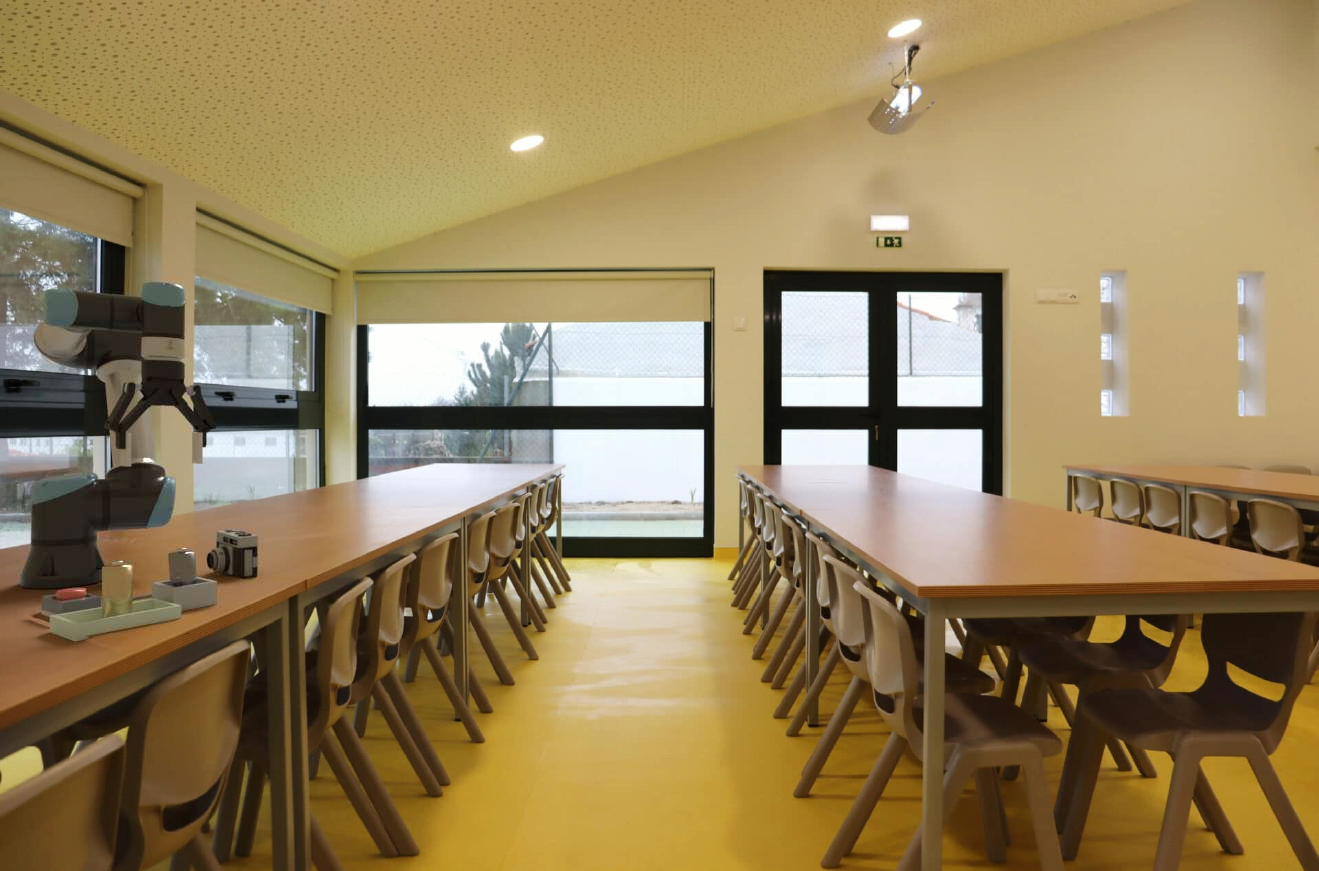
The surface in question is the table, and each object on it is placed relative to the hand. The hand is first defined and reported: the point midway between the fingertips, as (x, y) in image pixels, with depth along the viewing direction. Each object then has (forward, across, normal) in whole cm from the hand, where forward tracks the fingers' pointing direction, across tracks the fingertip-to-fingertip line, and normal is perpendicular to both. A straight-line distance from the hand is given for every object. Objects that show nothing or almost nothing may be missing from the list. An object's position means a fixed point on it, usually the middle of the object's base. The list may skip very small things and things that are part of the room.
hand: (162, 464), depth 164 cm
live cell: (+26, -16, -18) cm, 36 cm away
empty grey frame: (+27, -6, -5) cm, 28 cm away
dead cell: (+26, -2, -14) cm, 30 cm away
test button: (+24, -18, -4) cm, 30 cm away
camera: (+27, +20, +11) cm, 35 cm away
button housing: (+27, -18, -4) cm, 32 cm away
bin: (+27, -2, -14) cm, 30 cm away
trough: (+27, -16, -18) cm, 36 cm away
